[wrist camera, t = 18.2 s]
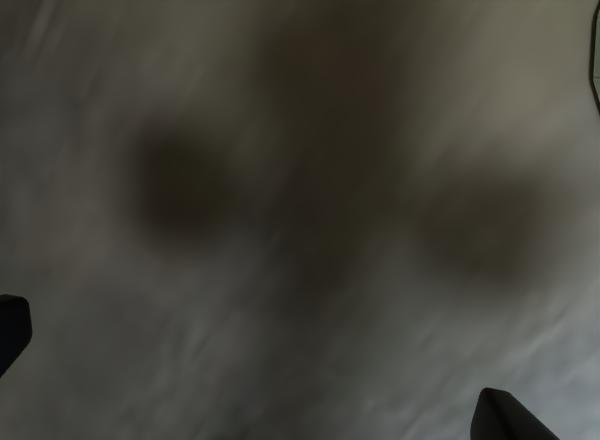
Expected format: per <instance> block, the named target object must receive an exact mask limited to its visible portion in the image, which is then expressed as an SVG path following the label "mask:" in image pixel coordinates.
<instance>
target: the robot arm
mask: <svg viewBox="0 0 600 440" xmlns="http://www.w3.org/2000/svg"><path fill="white" fill-rule="evenodd" d="M31 337H32V324H31V316H30V308H29V303H28V301H27V300H26V299H25V298H23V297H19V296H14V295H8V294H4V295H0V378H1V377H2V375H3V374H4V373H5V372H6V371H7V369H8V368H9V367H10V366H11V365H12V363H13V362H14V361H15V360H16V359H17V357H18V356H19V355H20V354H21V353H22V351H23V350H24V349H25V348H26V347H27V345H28V344H29V342H30V340H31ZM470 438H471V440H560V439H559V438H558V437H557V436H556V435H554V434H553V433H552V432H551V431H550V430H549V429H548V428H547V427H546V426H545V425H544V424H543V423H542V422H540V421H539V420H538V419H537V418H536V417H535V416H534V415H533V414H532V413H531V412H530V411H529V410H527V409H526V408H525V407H524V406H523V405H522V404H521V403H520V402H519V401H518V400H517V399H516V398H515V397H513V396H512V395H511V394H510V393H509V392H507V391H503V390H498V389H492V388H484V389H482V391H481V392H480V395H479V399H478V402H477V405H476V409H475V412H474V416H473V419H472V423H471V430H470Z"/></svg>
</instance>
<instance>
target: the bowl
mask: <svg viewBox="0 0 600 440" xmlns="http://www.w3.org/2000/svg"><path fill="white" fill-rule="evenodd" d="M597 17H598V19H597V28H596V43H595V58H594V73H593V76H594V78H593V81H594V84H595V88H596V91H597V95H598V98H599V101H600V10H599V12H598V15H597Z"/></svg>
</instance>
